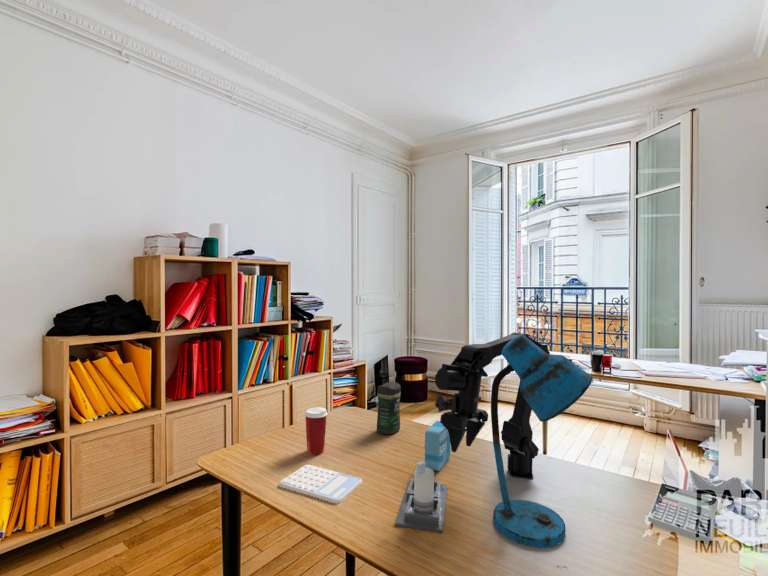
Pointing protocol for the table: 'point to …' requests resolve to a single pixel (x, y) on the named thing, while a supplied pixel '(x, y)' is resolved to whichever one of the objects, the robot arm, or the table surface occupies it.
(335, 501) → the calculator
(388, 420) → the coffee jar
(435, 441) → the data package
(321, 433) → the paper cup
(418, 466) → the plug
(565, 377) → the desk lamp
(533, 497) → the table surface
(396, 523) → the panel
